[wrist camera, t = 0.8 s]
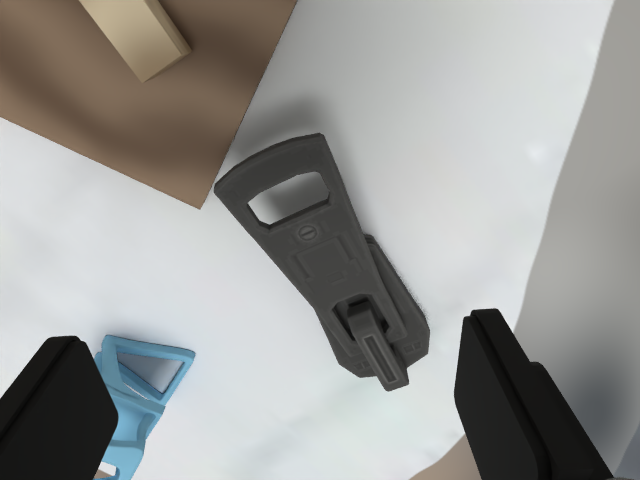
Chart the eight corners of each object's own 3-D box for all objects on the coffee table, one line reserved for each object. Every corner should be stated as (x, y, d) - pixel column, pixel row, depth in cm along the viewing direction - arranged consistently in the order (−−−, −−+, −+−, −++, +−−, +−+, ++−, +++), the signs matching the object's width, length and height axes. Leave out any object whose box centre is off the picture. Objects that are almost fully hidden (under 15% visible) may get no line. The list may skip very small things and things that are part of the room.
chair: (114, 317, 39) (39, 430, 29) (197, 353, 41) (155, 470, 31) (88, 369, 42) (12, 488, 32) (166, 400, 44) (119, 521, 34)
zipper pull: (327, 121, 24) (456, 394, 35) (324, 99, 30) (435, 339, 41) (196, 185, 26) (357, 426, 37) (217, 153, 32) (351, 370, 43)
